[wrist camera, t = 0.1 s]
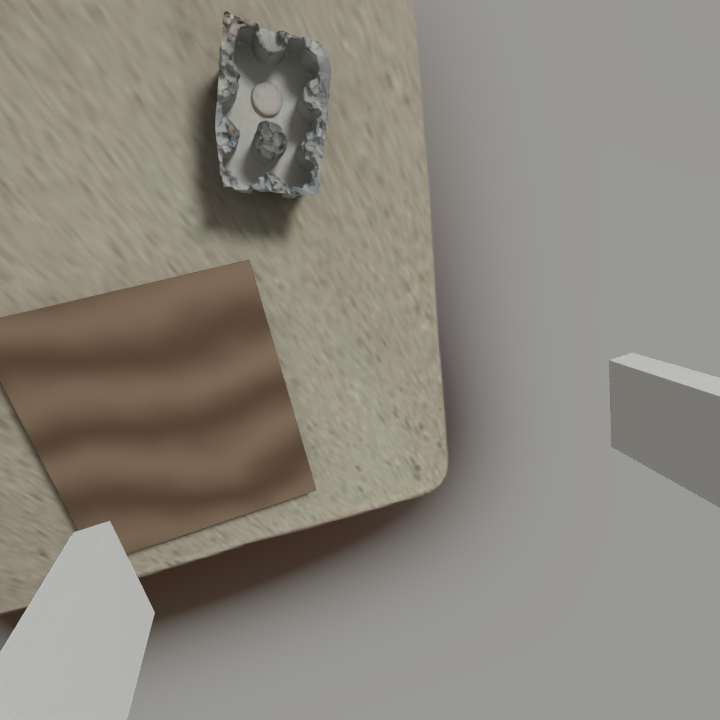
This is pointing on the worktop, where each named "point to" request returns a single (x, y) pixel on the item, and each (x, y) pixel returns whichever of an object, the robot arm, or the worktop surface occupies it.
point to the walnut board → (157, 404)
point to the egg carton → (270, 110)
